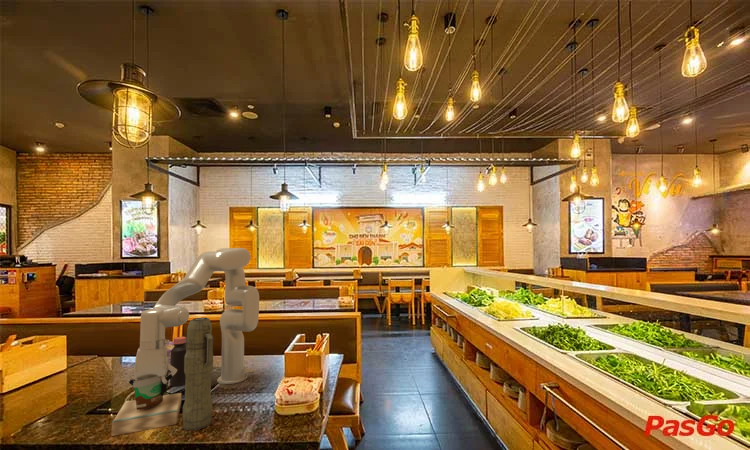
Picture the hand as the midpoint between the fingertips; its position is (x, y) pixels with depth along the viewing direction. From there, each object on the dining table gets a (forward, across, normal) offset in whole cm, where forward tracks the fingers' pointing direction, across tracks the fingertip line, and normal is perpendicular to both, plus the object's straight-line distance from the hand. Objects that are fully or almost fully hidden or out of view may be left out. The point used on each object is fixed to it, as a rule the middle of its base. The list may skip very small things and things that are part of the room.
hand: (150, 395), depth 124 cm
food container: (+3, -1, 0) cm, 3 cm away
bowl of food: (+8, +4, -58) cm, 59 cm away
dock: (+7, 0, 0) cm, 7 cm away
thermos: (+8, -15, +12) cm, 21 cm away
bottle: (+8, -6, -33) cm, 34 cm away
